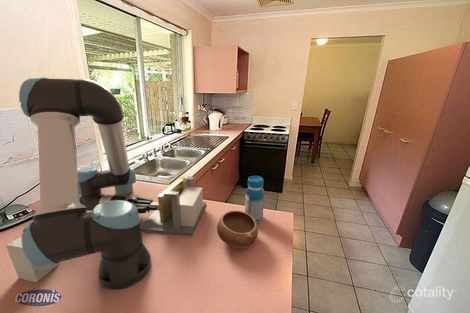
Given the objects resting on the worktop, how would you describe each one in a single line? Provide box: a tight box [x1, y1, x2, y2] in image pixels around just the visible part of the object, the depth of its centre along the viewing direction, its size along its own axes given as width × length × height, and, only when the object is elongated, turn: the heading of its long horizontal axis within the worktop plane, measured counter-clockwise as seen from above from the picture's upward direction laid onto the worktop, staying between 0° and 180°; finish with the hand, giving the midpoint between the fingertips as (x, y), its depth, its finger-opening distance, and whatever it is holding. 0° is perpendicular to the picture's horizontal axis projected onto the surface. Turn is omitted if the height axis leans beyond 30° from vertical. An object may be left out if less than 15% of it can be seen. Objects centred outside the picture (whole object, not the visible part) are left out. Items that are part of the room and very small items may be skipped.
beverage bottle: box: [244, 175, 265, 224], centre depth 94 cm, size 8×8×20 cm
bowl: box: [216, 210, 259, 249], centre depth 82 cm, size 16×16×10 cm
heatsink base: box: [140, 176, 207, 236], centre depth 95 cm, size 22×24×17 cm
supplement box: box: [5, 235, 60, 283], centre depth 66 cm, size 7×7×13 cm
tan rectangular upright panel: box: [157, 177, 187, 224], centre depth 96 cm, size 2×19×13 cm, turn 162°
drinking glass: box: [114, 184, 134, 196], centre depth 116 cm, size 10×10×12 cm
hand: (165, 207), depth 92 cm, fingers closed
